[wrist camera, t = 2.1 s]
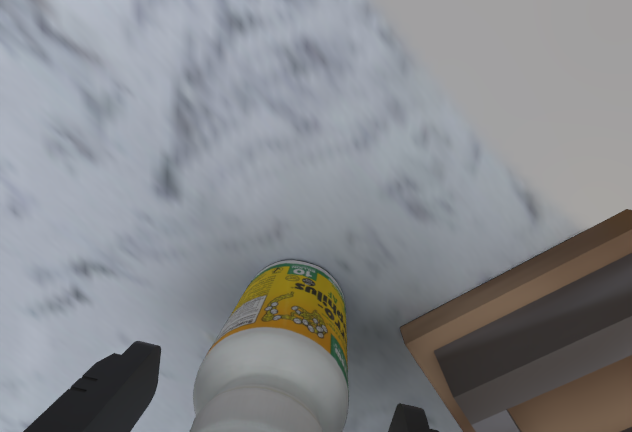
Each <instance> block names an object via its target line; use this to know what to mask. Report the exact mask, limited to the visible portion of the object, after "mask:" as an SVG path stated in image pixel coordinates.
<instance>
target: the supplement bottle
mask: <svg viewBox="0 0 632 432" xmlns="http://www.w3.org/2000/svg"><path fill="white" fill-rule="evenodd" d="M193 402H194V410H195V414H196V418H195V419H194V422H193V425H192V428H191V430H190V432H342V430H343V427H344V425H345V422H346V418H347V414H348V403H349V391H348V365H347V332H346V306H345V299H344V295H343V293H342V290H341V289H340V287H339V285H338V283H337V282H336V281H335V279H334V278H333V277H332V276H331V275H330V274H329V273H327V272H326V271H325V270H323V269H322V268H320V267H318V266H316V265H313V264H309V263H306V262H302V261H296V260H286V261H280V262H276V263H274V264H271V265H269V266H268V267H266V268H265V269H263V270H262V271H261V272H259V273H258V274H257V275H256V276H255V278H254V279H253V280H252V282H251V283H250V285H249V286H248V288H247V289H246V291H245V292H244V294H243V296H242V297H241V299H240V300H239V302H238V304H237V306H236V307H235V309H234V311H233V312H232V314H231V316H230V317H229V319H228V320H227V322H226V324H225V325H224V327H223V329H222V330H221V332H220V334H219V335H218V337H217V339H216V340H215V342H214V343H213V345H212V347H211V348H210V350H209V352H208V353H207V355H206V357H205V359H204V360H203V362H202V364H201V366H200V368H199V370H198V373H197V376H196V380H195V384H194V391H193Z"/></svg>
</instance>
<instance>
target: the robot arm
mask: <svg viewBox="0 0 632 432" xmlns="http://www.w3.org/2000/svg"><path fill="white" fill-rule="evenodd" d="M160 356H161V347H160V346H158V345H154V344H149V343H145V342H141V341H136V342H134V343H133V344H132V345H131V346H130V347H129V348H128V349H127V350H126V351H125V352H124V353H123V354H122V355H119V354H115V353H114V354H112V355H110V356H108V357H106V358H104V359H102V360H101V361H99V362H97V363H96V364H94V365H93V366H92V367H91V368H90V369H89V370H88V371H87V372H86V373H85V374H84V375H83V377H82V378H80V379H79V380H77V381H76V382H75V383H74V384H73V385H72V386H71V388H70V389H68V390H67V391H66V392H65V393H64V394H63V395H62V396H61V397H59V398H58V399H57V400H56V401H55V402H54V403H53V404H52V405H51V406H50V407H49V408H48V409H47V410H46V411H45V412H44V413H42V414H41V415H40V416H39V417H38V418H37V419H36V420H35V421H34V422H33V423H32V424H31V425H30V426H29V427H28V428H27V429H26V430H24V431H23V432H130V431H131V430H132V428H133V427H134V425H135V424H136V422H137V421H138V420H139V418H140V417H141V415H142V414H143V413H144V411H145V410H146V408H147V407H148V405H149V404H150V402H151V400H152V398H153V396H154V394H155V391H156V388H157V384H158V375H159V365H160ZM388 432H439V431H437V430H433V429H429V425H428V422H427V419H426V415H425V412H424V410H423V409H422V408H418V407H414V406H410V405H405V404H401V403H399V404H398V405H397V407H396V410H395V413H394V416H393V419H392V422H391V425H390V428H389V431H388Z"/></svg>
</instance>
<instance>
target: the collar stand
mask: <svg viewBox="0 0 632 432" xmlns="http://www.w3.org/2000/svg"><path fill="white" fill-rule="evenodd" d="M400 330H401V333H402V336H403V340H404V343H405V345H406V347H407V348H408V350H409V351H410V353H411V354H412V356H413V357H414V359H415V360H416V362H417V363H418V365H419V366H420V368H421V369H422V371H423V372H424V374H425V375H426V377H427V378H428V380H429V381H430V383H431V384H432V386H433V387H434V389H435V390H436V392H437V393H438V395H439V396H440V398H441V399H442V401H443V402H444V404H445V405H446V407H447V408H448V410H449V411H450V413H451V414H452V416H453V417H454V418H455V420H456V421H457V423H458V424H459V426H460V427H461V429H462V430H463V432H632V210H628V209H626V210H624V211H622V212H621V213H618V214H617V215H615V216H613V217H611V218H609V219H607V220H605V221H603V222H601V223H599V224H597V225H595V226H594V227H592V228H590V229H588V230H586V231H584V232H582V233H580V234H578V235H576V236H574V237H572V238H571V239H569V240H567V241H565V242H563V243H561V244H559V245H557V246H555V247H553V248H551V249H549V250H548V251H546V252H544V253H542V254H540V255H538V256H536V257H534V258H532V259H530V260H528V261H526V262H524V263H523V264H521V265H519V266H517V267H515V268H513V269H511V270H509V271H507V272H505V273H503V274H501V275H500V276H498V277H496V278H494V279H492V280H490V281H488V282H486V283H484V284H482V285H480V286H478V287H477V288H475V289H473V290H471V291H469V292H467V293H465V294H463V295H461V296H459V297H457V298H455V299H454V300H452V301H450V302H448V303H446V304H444V305H442V306H440V307H438V308H436V309H434V310H432V311H431V312H429V313H427V314H425V315H423V316H421V317H419V318H417V319H415V320H413V321H411V322H409V323H408V324H406V325H404V326H402V327H400Z"/></svg>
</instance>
